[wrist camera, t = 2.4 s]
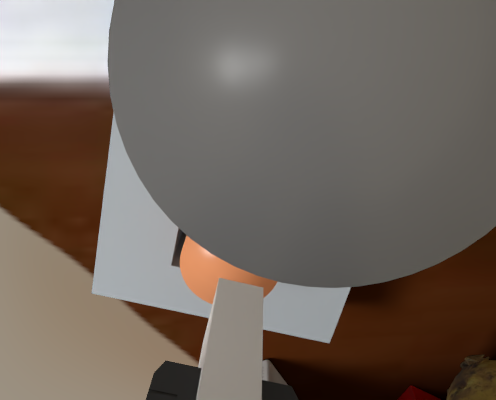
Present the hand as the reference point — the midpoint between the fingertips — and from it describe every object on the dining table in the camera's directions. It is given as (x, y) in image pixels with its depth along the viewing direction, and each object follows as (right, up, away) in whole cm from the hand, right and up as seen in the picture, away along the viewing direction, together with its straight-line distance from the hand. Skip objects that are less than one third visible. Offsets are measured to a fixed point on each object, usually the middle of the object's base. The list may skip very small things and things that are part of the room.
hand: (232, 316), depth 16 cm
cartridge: (+2, +12, +5) cm, 13 cm away
